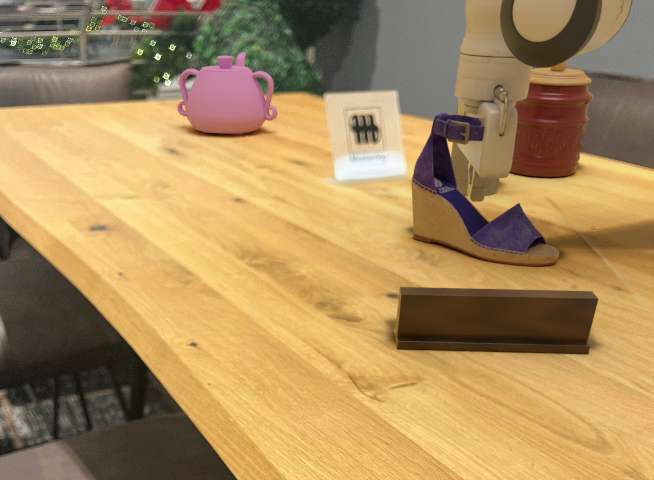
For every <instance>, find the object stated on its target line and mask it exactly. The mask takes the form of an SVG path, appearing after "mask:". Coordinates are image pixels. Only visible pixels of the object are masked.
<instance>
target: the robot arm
mask: <svg viewBox="0 0 654 480" xmlns="http://www.w3.org/2000/svg"><path fill="white" fill-rule="evenodd" d="M632 6H633V0H465V6H464V16H465V32H464V36H463V40H462V42H461V45H460V47H459V55H458V62H457V70H456V77H455V78H456V79H455V85H454V86H455V87H454V93H453V94H454V96H455V97H457V98H459V101H458V100H457V106H458V115H464V116H470V117H476V118H479V120H480V121H481V126H484V133H483V139H482V141H469V142H468V144H466V145H465V144H458V143H457V144H458V147H459V148H460V149H461V151H462V152H463V154H464V155H465V157H466V158H467V159H468V161H469V164H468V190H467V195H466V196H468V197H469V199H470V202H474V203H475V202H476V203H477V202H479V203H480V202H483V201H484V200H485V197H486V195H485V190H486V186H487V184H488V181H489V179H490V178H499V179H506V178H508V177H509V174H510V173H511V172H510V170H511V166H512V160H513V152H514V145H515V137H516V129H517V110H516V108H515V104H516V101H519V100H524V99H526V98H527V95H528V90H529V84H530V78H531V72H532V69H533V68H550V67H552V66H555V65H558V64H560V63H562V62H564V61H566V60H567V61H568V60H570V59H571V58H574V57H578V56H580V55H583V54H586V53H588V52H589V53H590V52H591V51H594V50H596V49H598V48H600V47H602V46H604V45H606V43H608V42H609V41H611V40H612V39H613V38H614V37H615V36H616V35H617V34H618V33H619V32H620V31H621V29H622V28H623V27H624V25H625V24H626V22H627V19H628V17H629V15H630V12H631V9H632ZM476 134H477V133H476Z"/></svg>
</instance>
